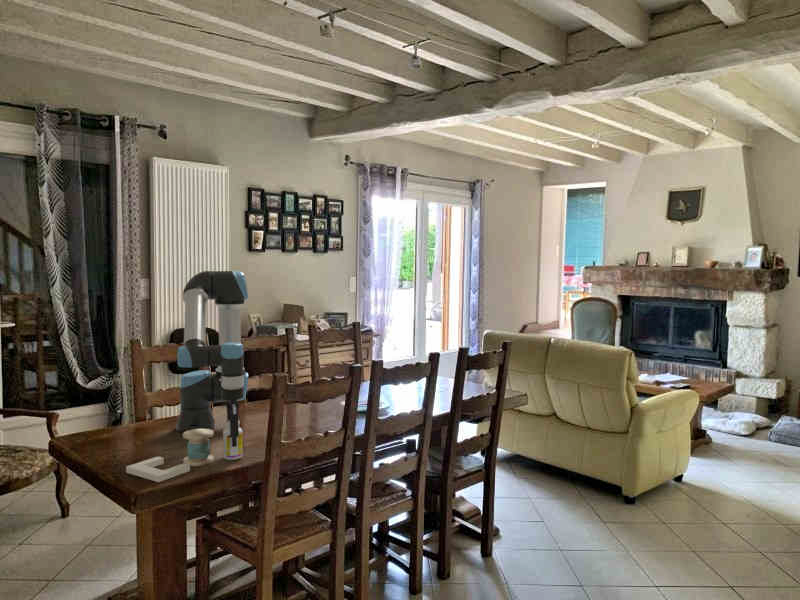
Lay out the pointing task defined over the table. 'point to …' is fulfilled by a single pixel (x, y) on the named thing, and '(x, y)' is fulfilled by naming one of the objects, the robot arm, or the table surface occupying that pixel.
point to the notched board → (154, 474)
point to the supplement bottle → (227, 443)
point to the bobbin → (198, 447)
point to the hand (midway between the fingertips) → (232, 451)
